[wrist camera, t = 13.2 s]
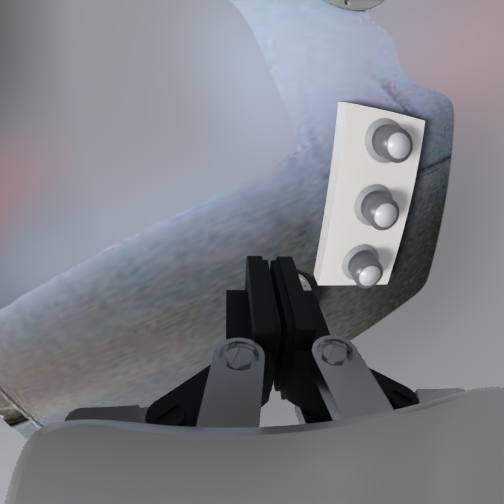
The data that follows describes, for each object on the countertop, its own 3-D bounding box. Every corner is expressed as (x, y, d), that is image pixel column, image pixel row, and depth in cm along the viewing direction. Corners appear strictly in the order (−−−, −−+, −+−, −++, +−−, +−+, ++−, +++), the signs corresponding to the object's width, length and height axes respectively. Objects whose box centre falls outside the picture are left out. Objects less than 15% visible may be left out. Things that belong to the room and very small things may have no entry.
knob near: (374, 121, 32) (386, 124, 29) (403, 128, 33) (416, 131, 30) (369, 155, 34) (381, 160, 32) (398, 159, 35) (410, 165, 32)
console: (338, 101, 34) (347, 102, 31) (413, 118, 35) (426, 120, 32) (313, 274, 47) (318, 286, 44) (380, 274, 48) (387, 284, 45)
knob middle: (364, 189, 37) (374, 197, 34) (392, 192, 37) (403, 200, 34) (357, 220, 39) (367, 230, 36) (385, 222, 39) (396, 232, 36)
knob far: (351, 250, 41) (359, 262, 38) (378, 251, 41) (387, 262, 38) (345, 276, 43) (352, 289, 40) (370, 276, 43) (379, 289, 40)
